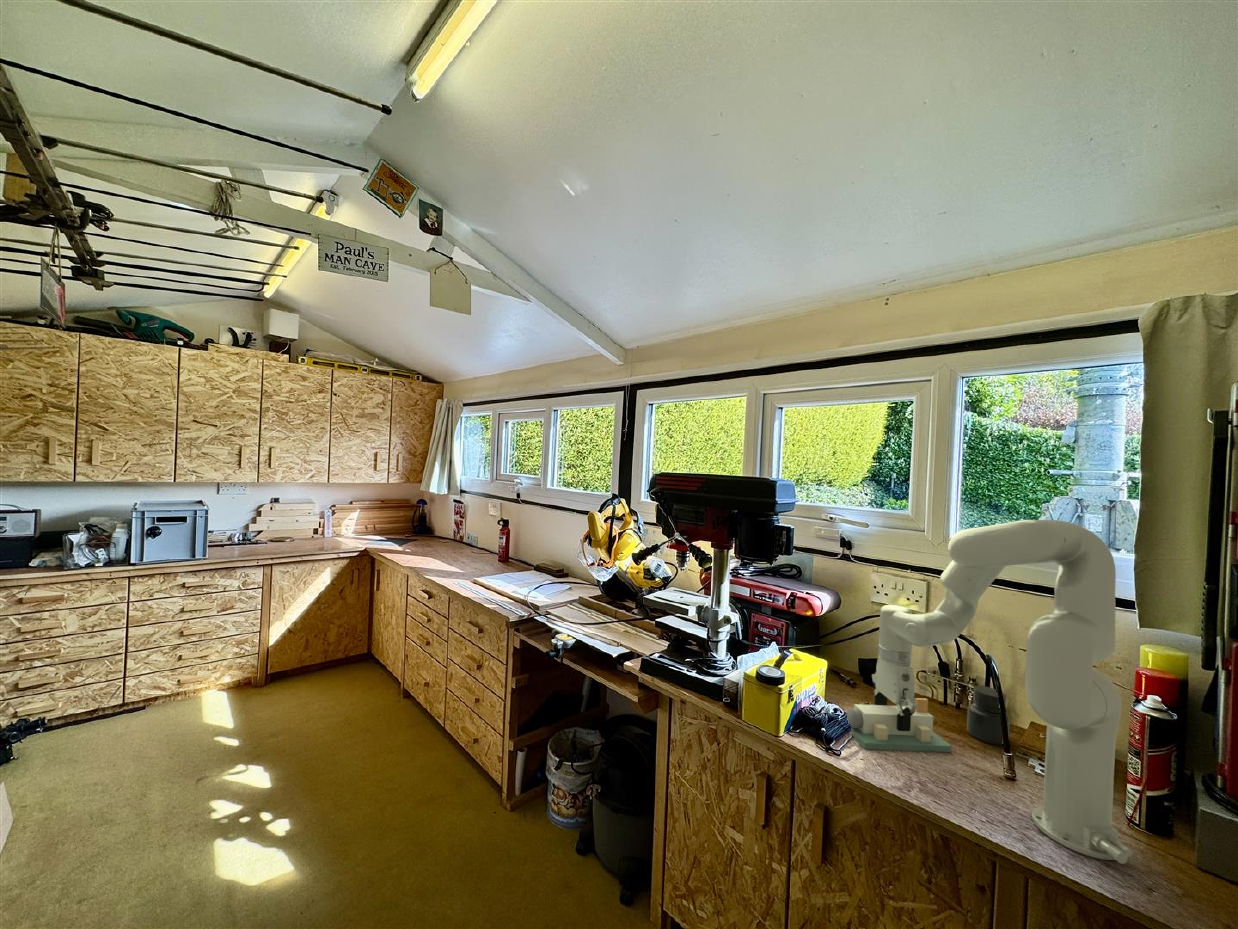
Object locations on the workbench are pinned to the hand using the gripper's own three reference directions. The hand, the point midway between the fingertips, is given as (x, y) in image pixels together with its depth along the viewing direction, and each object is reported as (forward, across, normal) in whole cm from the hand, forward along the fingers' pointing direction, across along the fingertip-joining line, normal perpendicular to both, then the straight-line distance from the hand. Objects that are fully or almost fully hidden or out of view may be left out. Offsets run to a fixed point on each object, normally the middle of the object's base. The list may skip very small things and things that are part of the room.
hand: (891, 720), depth 125 cm
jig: (+4, 0, 0) cm, 4 cm away
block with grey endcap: (+2, 0, 0) cm, 2 cm away
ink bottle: (+4, +1, -27) cm, 27 cm away
